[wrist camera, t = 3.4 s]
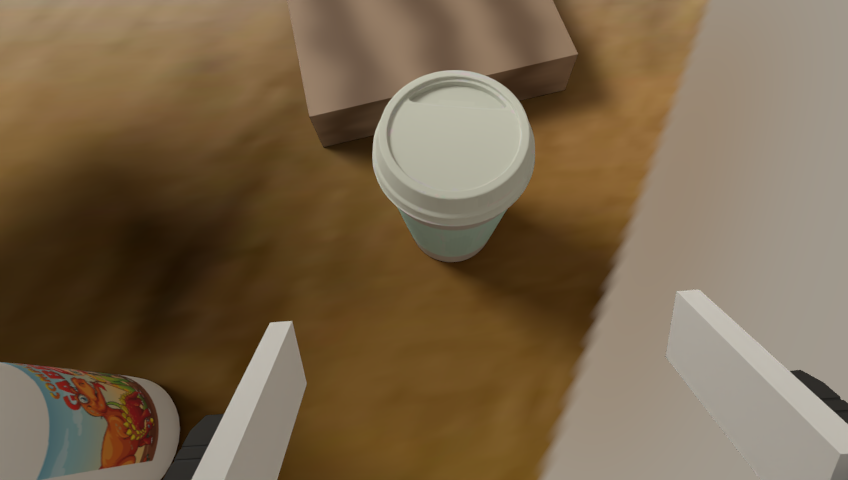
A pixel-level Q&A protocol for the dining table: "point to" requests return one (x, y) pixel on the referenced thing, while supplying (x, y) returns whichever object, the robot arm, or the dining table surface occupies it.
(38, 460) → the milk bottle
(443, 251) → the coffee cup
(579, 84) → the dining table surface
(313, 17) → the walnut base
